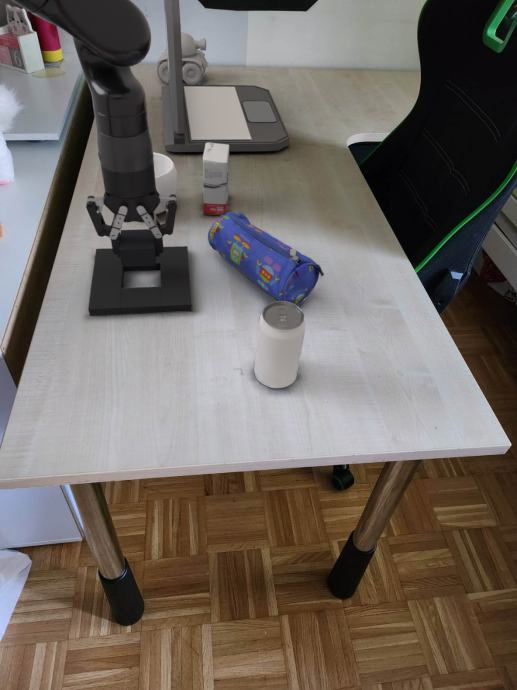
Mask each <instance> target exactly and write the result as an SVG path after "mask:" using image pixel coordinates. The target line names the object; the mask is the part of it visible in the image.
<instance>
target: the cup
mask: <svg viewBox="0 0 517 690" xmlns="http://www.w3.org/2000/svg"><path fill="white" fill-rule="evenodd" d="M153 160H154V171H155V183H156V190H157V192H158V193H159V195H160V196H166V197H169V196H170V195H171V194H174V195H176V196H177V193H178V172H177V169H176V165H175V163H174V162H173V160H172V159H171V158H170V157H169V156H167V155H165V154H162V153H159V152H154V151H153ZM154 212H155V214H156V216H157V215H158V214H161V213H164V212H166V211H165V210H164V209H163V206H162V205H161V204H159V205H158V207H157V208H156V209H155V211H154Z"/></svg>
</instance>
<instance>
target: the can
mask: <svg viewBox="0 0 517 690" xmlns="http://www.w3.org/2000/svg"><path fill="white" fill-rule="evenodd" d="M306 325H307V324H306V320H305V313H304V310H303V309H302V308H301V307H299V306H297V305H295V304H293V303H291V302H287V301H279V300H277V301H276V300H275V301H272V302H270V303H267V305H265V307H264V308H263V310H262V313H261V315H260V316H259V319H258V325H257V335H256V345H255V346H256V347H255V357H254V368H253V372H254V376H255V378H256V379H257V381H258V382H259V383H261V384H262V385H263V386H265V387H268V388H269V389H283V388H287V387H289V386H291V385H292V384H293V383H294V382H295V381H296V379H297V376H298V372H299V368H300V361H301V355H302V350H303V345H304V340H305V333H306Z"/></svg>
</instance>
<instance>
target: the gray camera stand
mask: <svg viewBox="0 0 517 690" xmlns="http://www.w3.org/2000/svg"><path fill="white" fill-rule="evenodd" d="M163 5H164V7H163V8H164V22H165V41H166V49H167V60H168V77H169V79H168V80H169V85H168V84H165V85H163V86H161V87H160V88H161V102H162V104H161V105H162V119H163V120H162V121H163V135H164V150H165V152H173V153H200V152H201V153H204V150H205V144H206V143H218V144H229V152H274V151H280V150H282V149H284V148H285V147H287V146H289V145H290V139H291V138H290V135H289V133H288V130H287V128H286V125H285V123H284V121H283V118H282V117H281V114H280V112H279V110H278V108H277V105H276V103H275V101H274V99H273V96H272V94H271V91H270V89H267V88H264V87H261V86H258V85H251V84H250V85H249V84H248V85H247V84H199V85H183V83H184V80H183V73H182V48H181V32H182V24H181V10H180V0H163Z"/></svg>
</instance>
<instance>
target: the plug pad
mask: <svg viewBox="0 0 517 690" xmlns="http://www.w3.org/2000/svg"><path fill="white" fill-rule="evenodd" d="M119 232H120V235H121V236H120V245H119V252H120V258H121V264H122V267H133V266H156V255H155V245H154V235H153V233H152V231H151V230H150V229H149V228H147V229H141V228H140V229H120V231H119Z"/></svg>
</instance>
